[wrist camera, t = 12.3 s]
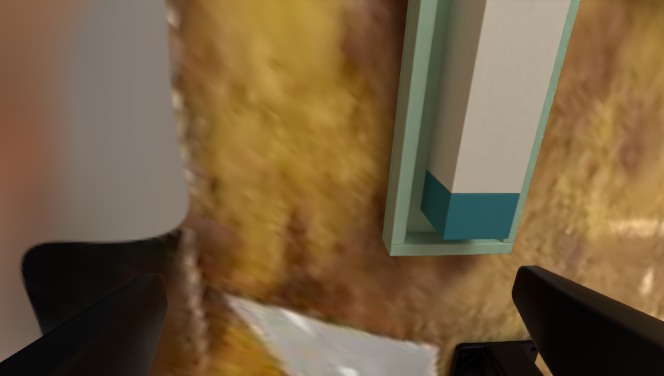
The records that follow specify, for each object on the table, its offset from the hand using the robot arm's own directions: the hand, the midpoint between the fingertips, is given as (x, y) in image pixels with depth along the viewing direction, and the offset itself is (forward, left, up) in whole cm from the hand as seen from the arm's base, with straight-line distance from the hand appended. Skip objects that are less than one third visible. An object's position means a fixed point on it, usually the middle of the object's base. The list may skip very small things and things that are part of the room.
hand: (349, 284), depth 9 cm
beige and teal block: (+3, -8, -12) cm, 14 cm away
